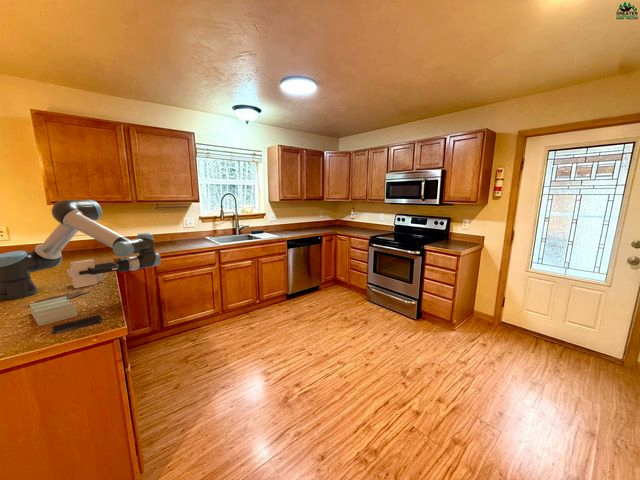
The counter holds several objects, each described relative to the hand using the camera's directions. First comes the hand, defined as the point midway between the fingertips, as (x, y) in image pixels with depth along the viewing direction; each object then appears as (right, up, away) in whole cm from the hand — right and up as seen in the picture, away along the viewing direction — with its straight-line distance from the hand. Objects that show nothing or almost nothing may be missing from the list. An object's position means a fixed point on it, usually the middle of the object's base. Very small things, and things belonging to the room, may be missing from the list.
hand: (68, 273), depth 120 cm
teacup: (-25, -11, +42) cm, 50 cm away
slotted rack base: (-4, -18, -2) cm, 19 cm away
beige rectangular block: (+3, -6, +5) cm, 9 cm away
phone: (+15, -21, -11) cm, 28 cm away
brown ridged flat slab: (-21, -16, +16) cm, 30 cm away
